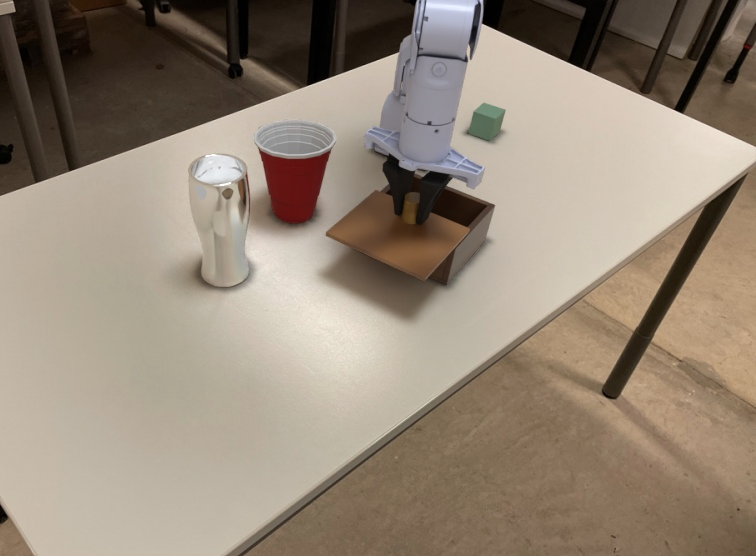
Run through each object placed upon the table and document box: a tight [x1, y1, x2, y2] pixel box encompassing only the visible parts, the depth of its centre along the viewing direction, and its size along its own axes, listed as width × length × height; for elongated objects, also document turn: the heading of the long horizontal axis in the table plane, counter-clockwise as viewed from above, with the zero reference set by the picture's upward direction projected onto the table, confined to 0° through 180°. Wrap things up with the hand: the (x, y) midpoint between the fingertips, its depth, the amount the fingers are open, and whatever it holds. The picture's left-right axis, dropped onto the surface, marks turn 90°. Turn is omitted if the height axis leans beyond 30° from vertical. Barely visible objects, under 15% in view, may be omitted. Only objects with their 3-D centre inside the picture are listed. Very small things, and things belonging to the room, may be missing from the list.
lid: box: [325, 189, 470, 282], centre depth 79 cm, size 14×12×4 cm
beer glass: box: [187, 152, 251, 288], centre depth 79 cm, size 7×7×15 cm
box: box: [379, 173, 496, 286], centre depth 88 cm, size 14×12×6 cm
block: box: [468, 102, 506, 142], centre depth 110 cm, size 4×4×4 cm
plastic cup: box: [253, 119, 337, 224], centre depth 89 cm, size 11×11×12 cm
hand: (411, 215), depth 82 cm, fingers closed on lid, 2 cm apart
